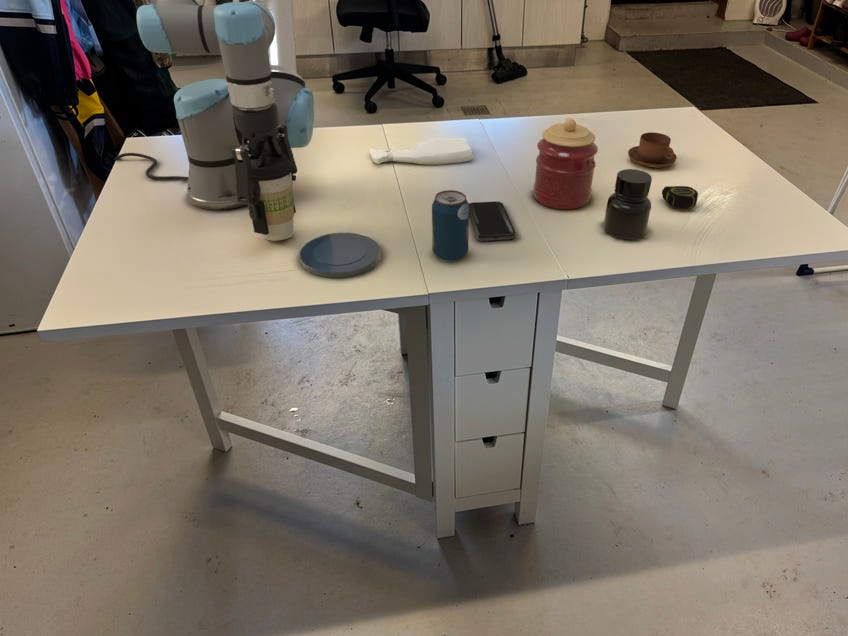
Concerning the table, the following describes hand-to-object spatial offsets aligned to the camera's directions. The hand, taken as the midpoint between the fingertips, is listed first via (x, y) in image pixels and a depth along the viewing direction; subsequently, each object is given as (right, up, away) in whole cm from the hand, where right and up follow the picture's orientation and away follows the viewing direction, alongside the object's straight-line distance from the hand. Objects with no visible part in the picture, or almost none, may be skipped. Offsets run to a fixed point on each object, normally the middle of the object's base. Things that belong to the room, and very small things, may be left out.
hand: (275, 222), depth 129 cm
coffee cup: (0, -2, +2) cm, 3 cm away
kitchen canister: (+58, +10, +20) cm, 63 cm away
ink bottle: (+70, 0, +9) cm, 71 cm away
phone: (+42, +2, +9) cm, 43 cm away
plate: (+13, -7, -3) cm, 15 cm away
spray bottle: (+25, +23, +35) cm, 49 cm away
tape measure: (+84, +8, +19) cm, 87 cm away
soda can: (+34, -7, -1) cm, 35 cm away
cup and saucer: (+83, +23, +38) cm, 94 cm away
